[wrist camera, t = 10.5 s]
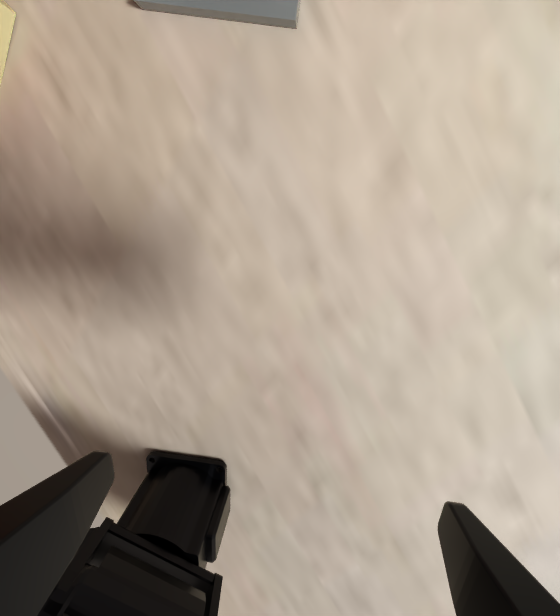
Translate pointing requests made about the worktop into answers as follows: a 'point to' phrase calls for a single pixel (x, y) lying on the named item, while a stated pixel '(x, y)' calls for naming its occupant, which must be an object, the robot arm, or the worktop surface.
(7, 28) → the milk carton
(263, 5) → the slate coaster
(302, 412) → the worktop surface
